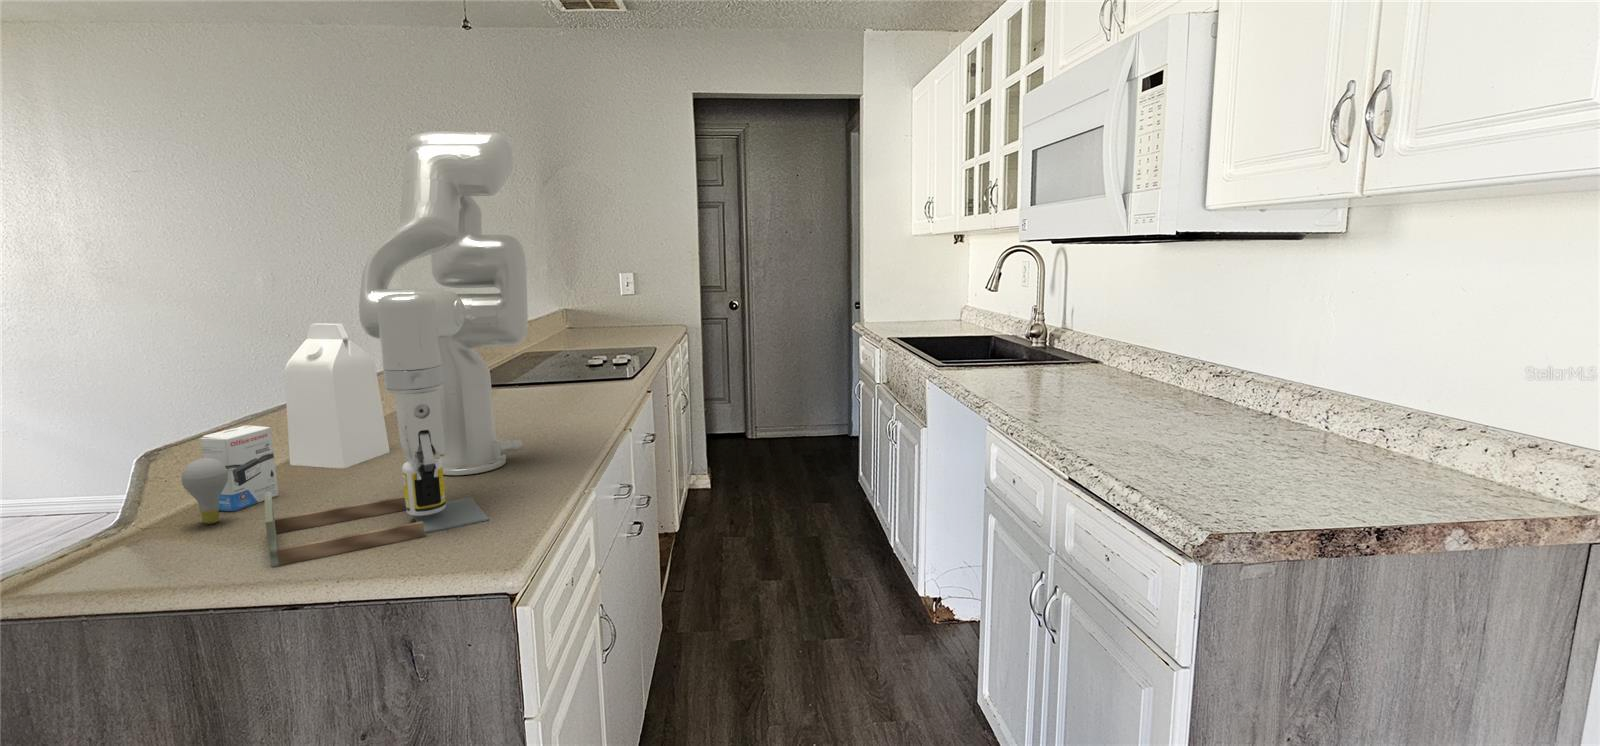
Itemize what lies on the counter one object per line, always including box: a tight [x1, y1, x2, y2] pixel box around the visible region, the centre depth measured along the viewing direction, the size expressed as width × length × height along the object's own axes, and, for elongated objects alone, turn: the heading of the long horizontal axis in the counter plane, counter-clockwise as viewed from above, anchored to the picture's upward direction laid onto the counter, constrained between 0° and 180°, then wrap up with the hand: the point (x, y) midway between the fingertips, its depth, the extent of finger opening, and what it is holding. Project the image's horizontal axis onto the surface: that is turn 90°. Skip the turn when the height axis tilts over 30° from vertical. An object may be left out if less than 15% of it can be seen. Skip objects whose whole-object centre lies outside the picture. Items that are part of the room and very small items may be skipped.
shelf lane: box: [264, 492, 426, 568], centre depth 111 cm, size 18×15×6 cm
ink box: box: [199, 425, 279, 512], centre depth 125 cm, size 8×5×12 cm, turn 168°
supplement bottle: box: [401, 450, 447, 516], centre depth 116 cm, size 5×5×10 cm
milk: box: [284, 322, 390, 469], centre depth 149 cm, size 12×12×26 cm
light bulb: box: [181, 457, 228, 526], centre depth 116 cm, size 5×6×10 cm
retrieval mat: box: [412, 497, 490, 534], centre depth 119 cm, size 9×12×1 cm
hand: (425, 497), depth 117 cm, fingers closed on supplement bottle, 5 cm apart
